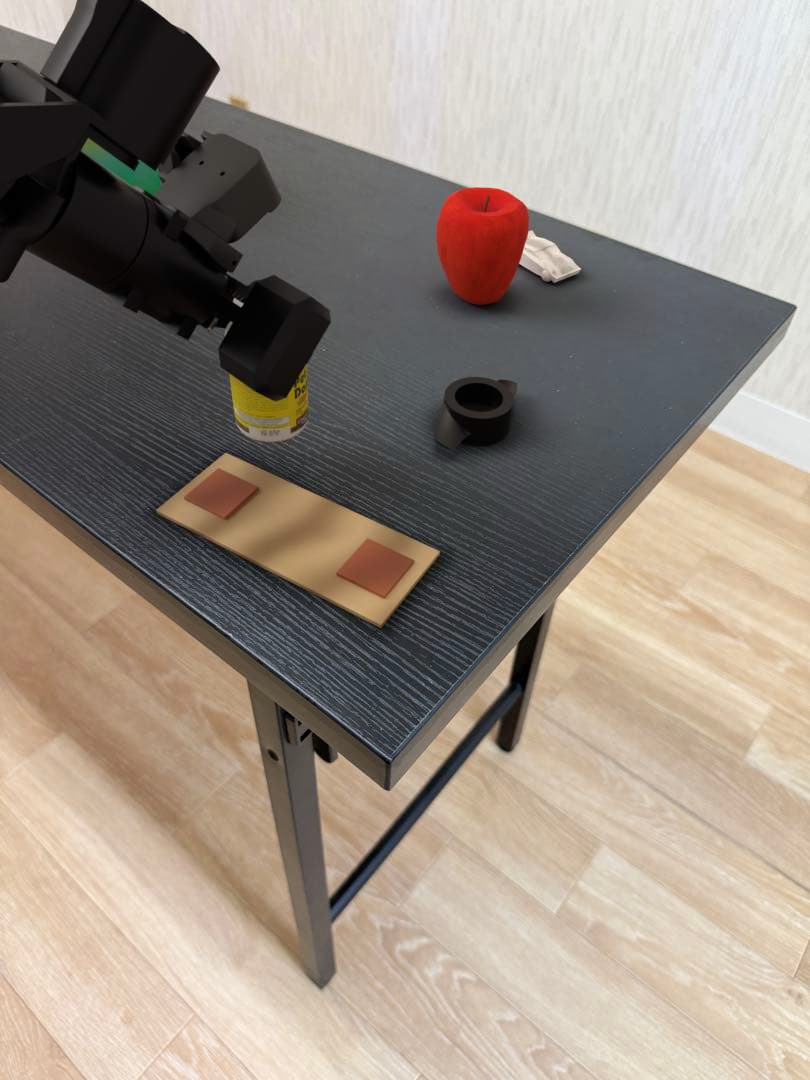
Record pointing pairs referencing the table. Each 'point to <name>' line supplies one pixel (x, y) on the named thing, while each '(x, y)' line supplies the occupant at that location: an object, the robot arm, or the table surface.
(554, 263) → the toy car
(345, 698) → the table surface
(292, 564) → the wood board
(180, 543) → the table surface
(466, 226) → the apple
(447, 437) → the black hollow round piece
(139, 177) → the yellow-green faceted fruit
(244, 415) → the supplement bottle
